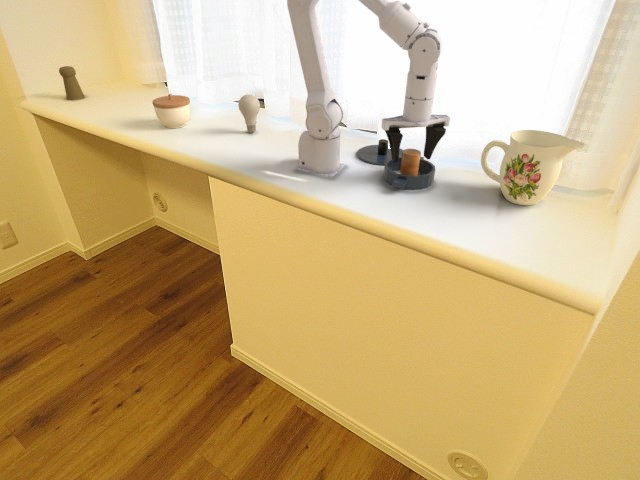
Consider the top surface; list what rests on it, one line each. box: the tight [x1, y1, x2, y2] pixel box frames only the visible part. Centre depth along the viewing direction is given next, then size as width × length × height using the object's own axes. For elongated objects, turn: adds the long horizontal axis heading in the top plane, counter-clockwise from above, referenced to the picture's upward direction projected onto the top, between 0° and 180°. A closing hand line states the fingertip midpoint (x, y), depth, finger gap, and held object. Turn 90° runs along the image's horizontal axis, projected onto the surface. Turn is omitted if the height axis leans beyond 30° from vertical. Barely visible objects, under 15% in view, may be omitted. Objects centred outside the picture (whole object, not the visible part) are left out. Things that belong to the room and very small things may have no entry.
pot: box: [383, 156, 436, 191], centre depth 93 cm, size 11×17×4 cm
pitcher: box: [480, 129, 587, 206], centre depth 83 cm, size 11×18×14 cm, turn 51°
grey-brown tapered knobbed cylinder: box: [58, 65, 86, 101], centre depth 149 cm, size 6×6×11 cm
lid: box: [356, 138, 404, 166], centre depth 104 cm, size 13×13×4 cm
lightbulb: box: [238, 93, 261, 134], centre depth 118 cm, size 6×6×11 cm
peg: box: [399, 148, 422, 176], centre depth 92 cm, size 4×4×7 cm
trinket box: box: [152, 93, 192, 129], centre depth 124 cm, size 11×11×9 cm
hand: (410, 159), depth 91 cm, fingers open, 7 cm apart
